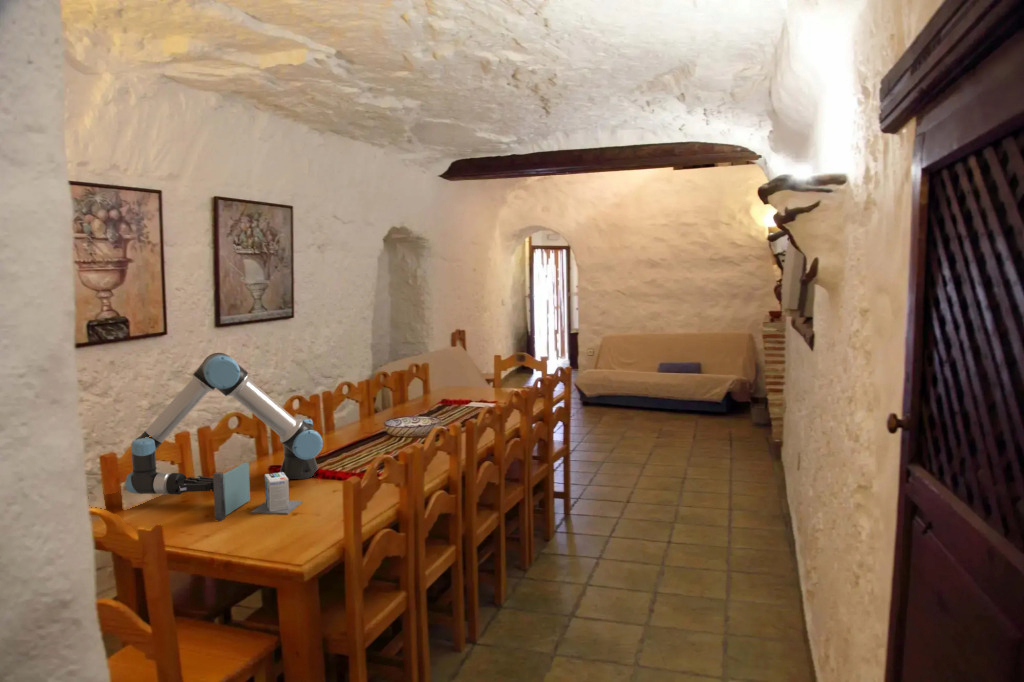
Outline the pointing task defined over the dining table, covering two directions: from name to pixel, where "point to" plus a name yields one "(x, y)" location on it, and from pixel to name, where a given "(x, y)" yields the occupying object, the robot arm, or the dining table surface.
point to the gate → (236, 487)
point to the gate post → (219, 496)
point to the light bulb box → (276, 491)
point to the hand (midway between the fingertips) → (234, 485)
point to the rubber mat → (264, 509)
